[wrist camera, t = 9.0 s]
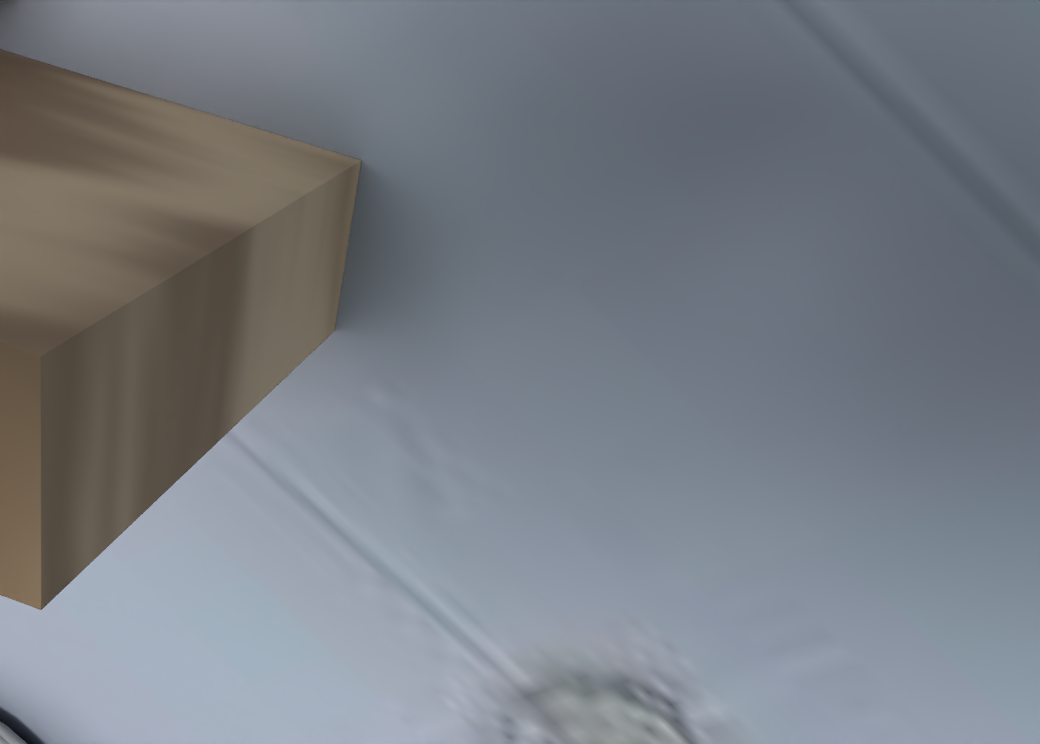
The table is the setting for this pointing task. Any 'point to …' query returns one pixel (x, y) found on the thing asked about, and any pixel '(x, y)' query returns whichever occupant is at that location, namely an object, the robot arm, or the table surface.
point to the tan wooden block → (141, 300)
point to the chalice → (9, 736)
